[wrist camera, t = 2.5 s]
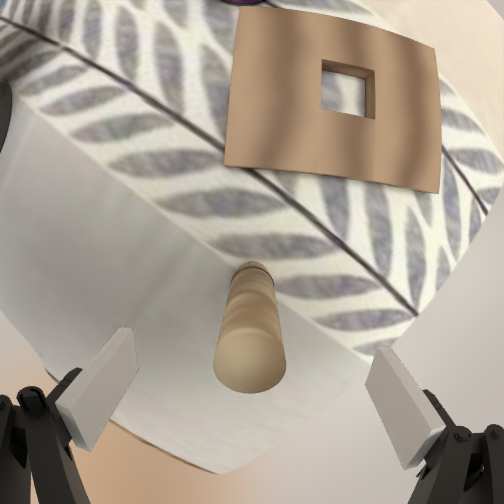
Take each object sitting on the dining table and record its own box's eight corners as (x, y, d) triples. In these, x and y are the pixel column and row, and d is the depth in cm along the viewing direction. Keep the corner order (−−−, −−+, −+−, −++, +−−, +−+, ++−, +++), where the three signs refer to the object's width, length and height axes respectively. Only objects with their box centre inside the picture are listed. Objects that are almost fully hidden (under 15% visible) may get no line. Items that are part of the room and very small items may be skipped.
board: (226, 166, 24) (223, 165, 22) (241, 18, 21) (239, 6, 18) (425, 192, 24) (438, 193, 22) (423, 56, 21) (434, 48, 18)
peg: (232, 293, 27) (212, 391, 14) (233, 256, 26) (212, 333, 13) (270, 296, 27) (282, 395, 14) (274, 259, 26) (292, 338, 13)
